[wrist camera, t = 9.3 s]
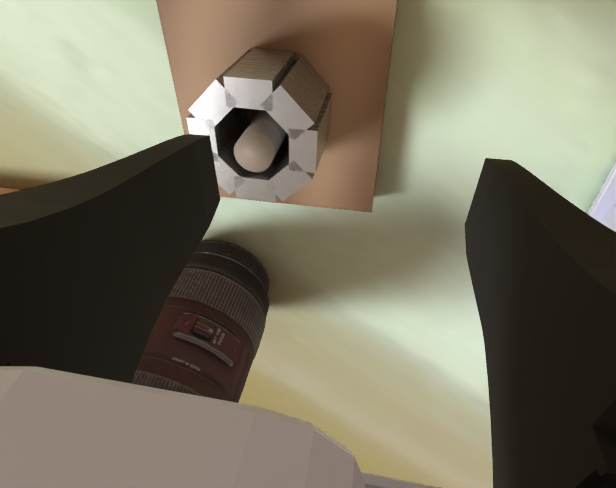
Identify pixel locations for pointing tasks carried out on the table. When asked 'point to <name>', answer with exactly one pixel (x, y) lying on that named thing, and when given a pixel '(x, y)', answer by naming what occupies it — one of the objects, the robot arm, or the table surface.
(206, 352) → the camera lens
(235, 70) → the ring
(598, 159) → the table surface
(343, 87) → the shaft stand
